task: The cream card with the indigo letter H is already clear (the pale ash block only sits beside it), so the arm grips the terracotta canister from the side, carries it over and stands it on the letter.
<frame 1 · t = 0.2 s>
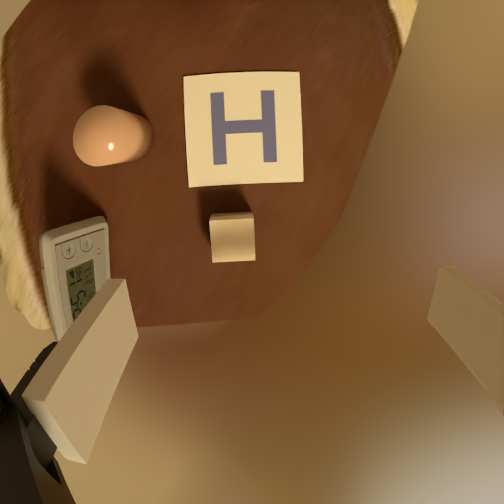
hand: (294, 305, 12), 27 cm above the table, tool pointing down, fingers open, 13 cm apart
letter card: (243, 126, 35), on the table
terracotta canister: (131, 137, 34), on the table
ash block: (233, 231, 39), on the table
digital clock: (95, 267, 40), on the table
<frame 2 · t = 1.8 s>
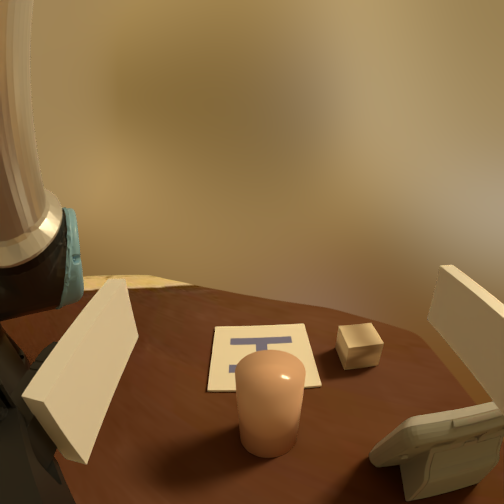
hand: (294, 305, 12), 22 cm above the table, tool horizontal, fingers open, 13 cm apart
letter card: (262, 355, 41), on the table
terracotta canister: (268, 435, 28), on the table
ash block: (356, 357, 40), on the table
digital clock: (436, 464, 21), on the table
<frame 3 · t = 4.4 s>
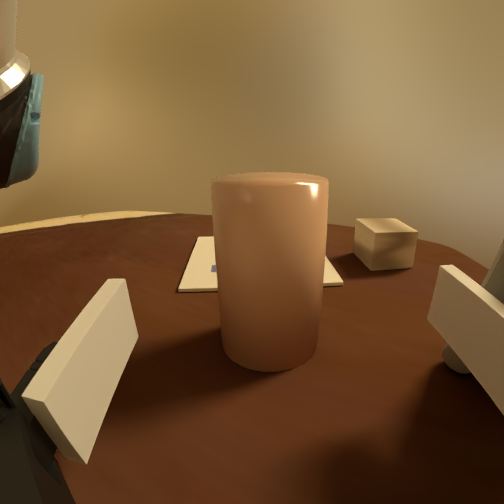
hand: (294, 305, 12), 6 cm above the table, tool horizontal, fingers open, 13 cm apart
letter card: (257, 258, 32), on the table
terracotta canister: (269, 340, 19), on the table
ash block: (381, 261, 31), on the table
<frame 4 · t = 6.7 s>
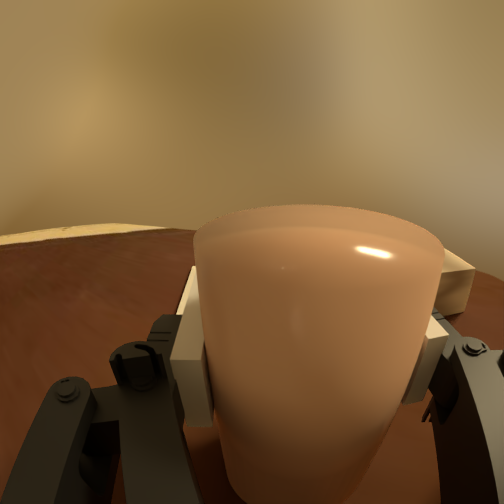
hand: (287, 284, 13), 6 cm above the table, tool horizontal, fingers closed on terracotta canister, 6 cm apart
terracotta canister: (296, 460, 11), on the table, touching gripper
ash block: (426, 302, 23), on the table
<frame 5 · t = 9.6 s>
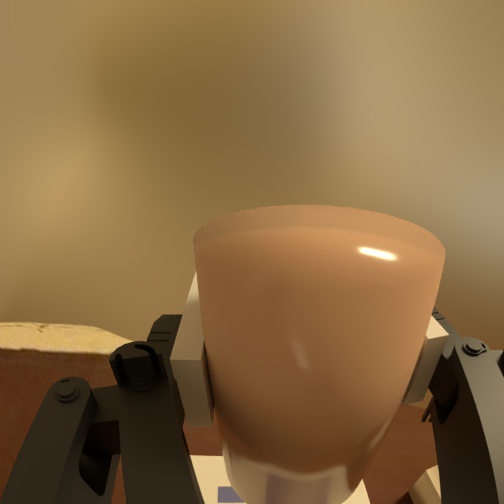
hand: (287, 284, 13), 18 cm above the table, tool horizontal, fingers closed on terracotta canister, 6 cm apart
terracotta canister: (296, 460, 11), point 12 cm above the table, touching gripper
ash block: (441, 502, 14), on the table
when the fingers open (8 cm above the table, at t = 12.4 s): terracotta canister drops 1 cm, resting on letter card.
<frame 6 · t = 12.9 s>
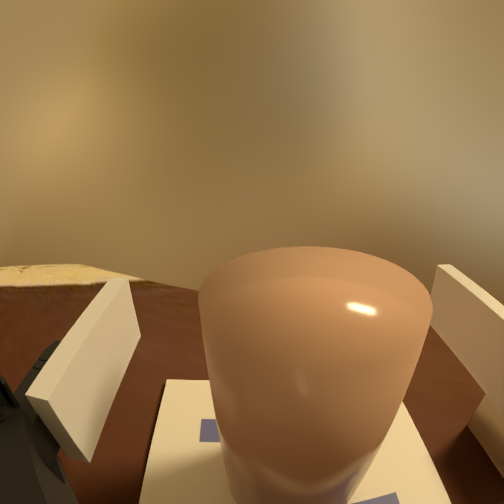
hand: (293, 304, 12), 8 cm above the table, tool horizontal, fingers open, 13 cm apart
letter card: (293, 476, 11), on the table
terracotta canister: (293, 474, 11), resting on letter card
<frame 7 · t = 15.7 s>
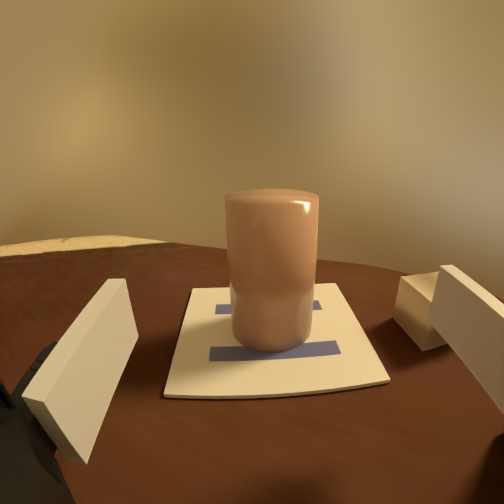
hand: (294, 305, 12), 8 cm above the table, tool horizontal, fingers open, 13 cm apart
letter card: (271, 330, 23), on the table
terracotta canister: (271, 327, 23), resting on letter card
ash block: (429, 329, 22), on the table
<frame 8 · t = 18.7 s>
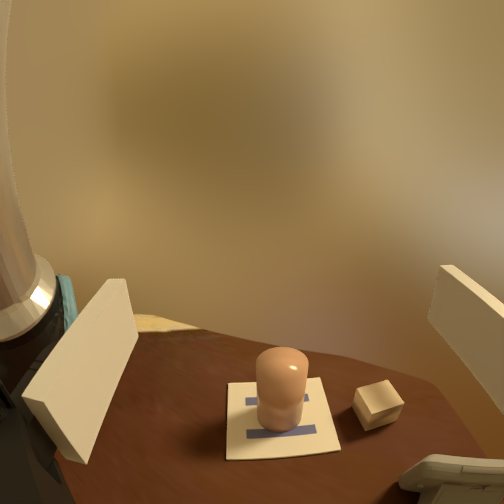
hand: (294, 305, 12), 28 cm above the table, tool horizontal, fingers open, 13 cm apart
letter card: (279, 416, 37), on the table
terracotta canister: (279, 415, 37), resting on letter card
ash block: (373, 414, 36), on the table
digital clock: (449, 501, 20), on the table
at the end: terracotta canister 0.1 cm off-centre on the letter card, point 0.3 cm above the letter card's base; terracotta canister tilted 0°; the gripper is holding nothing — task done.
